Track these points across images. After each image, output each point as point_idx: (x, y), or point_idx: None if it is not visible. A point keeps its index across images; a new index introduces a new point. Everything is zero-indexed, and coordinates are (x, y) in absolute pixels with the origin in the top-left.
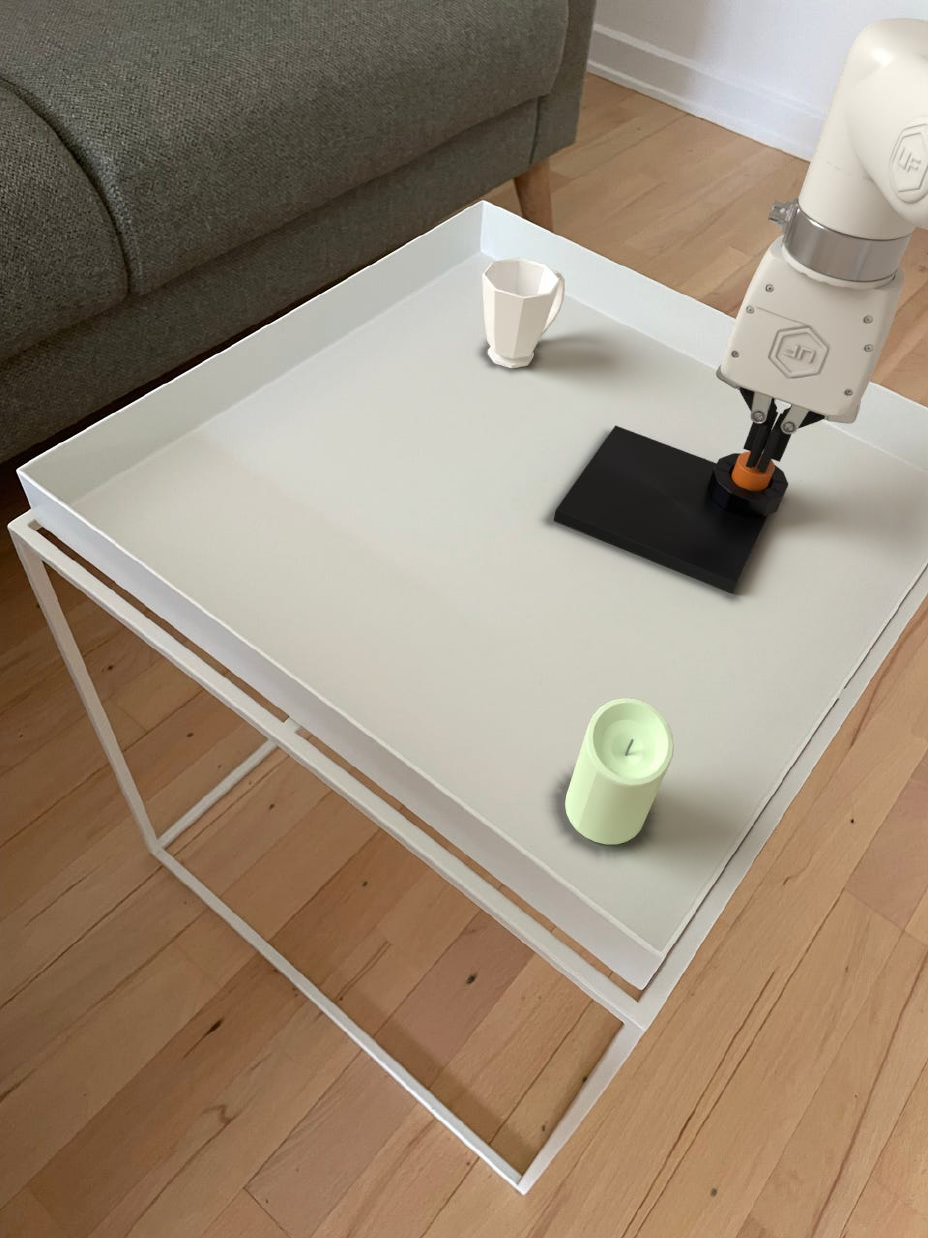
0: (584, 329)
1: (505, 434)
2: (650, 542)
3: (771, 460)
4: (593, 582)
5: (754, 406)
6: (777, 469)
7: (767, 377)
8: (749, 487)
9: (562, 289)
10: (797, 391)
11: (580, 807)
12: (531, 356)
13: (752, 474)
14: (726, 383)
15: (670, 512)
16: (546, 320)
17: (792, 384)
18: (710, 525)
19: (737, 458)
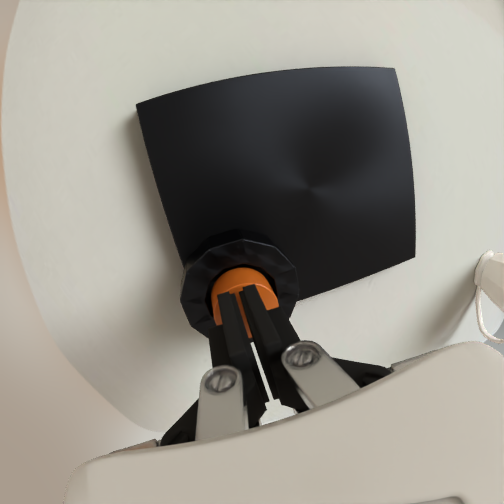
0: (449, 342)
1: (465, 170)
2: (280, 80)
3: None
4: (291, 8)
5: (329, 364)
6: None
7: (393, 447)
8: (228, 274)
9: (492, 338)
10: (244, 487)
11: None
12: (476, 279)
13: (235, 284)
14: (414, 357)
15: (294, 158)
16: (496, 302)
17: (283, 498)
18: (234, 179)
19: None
